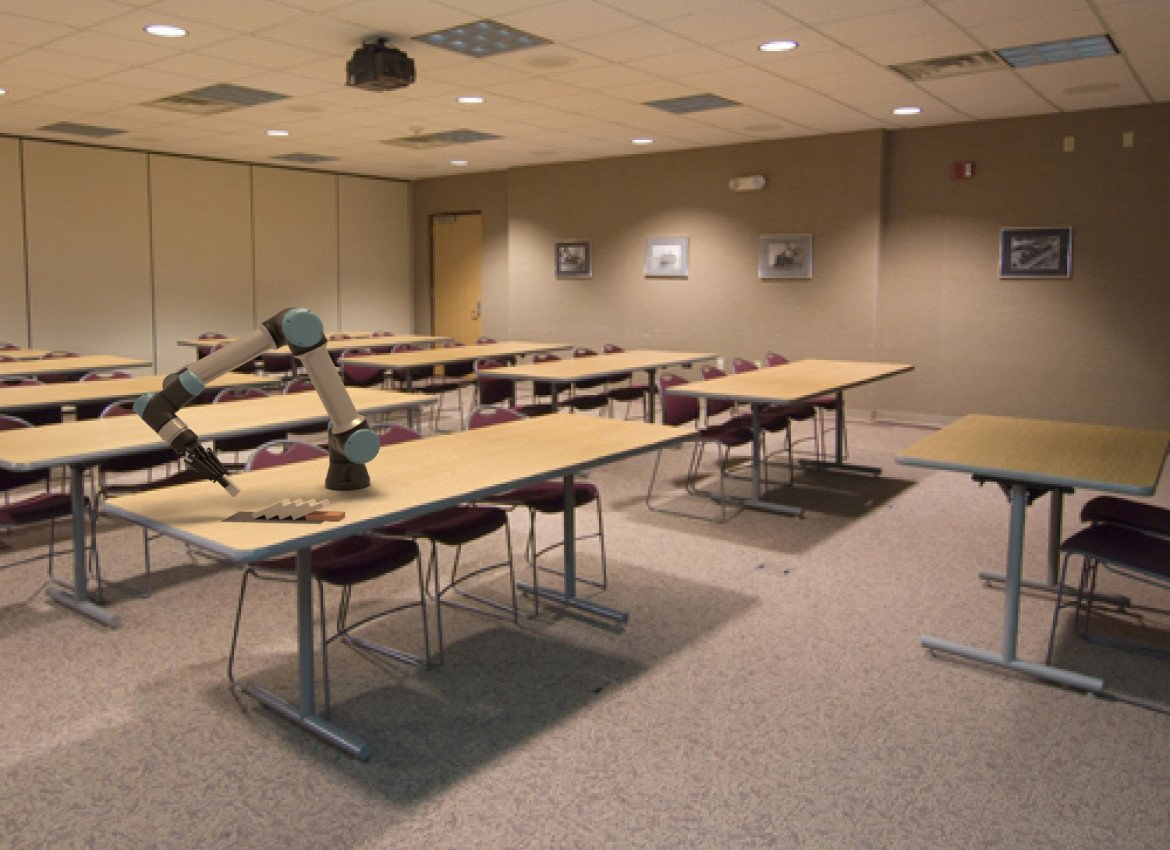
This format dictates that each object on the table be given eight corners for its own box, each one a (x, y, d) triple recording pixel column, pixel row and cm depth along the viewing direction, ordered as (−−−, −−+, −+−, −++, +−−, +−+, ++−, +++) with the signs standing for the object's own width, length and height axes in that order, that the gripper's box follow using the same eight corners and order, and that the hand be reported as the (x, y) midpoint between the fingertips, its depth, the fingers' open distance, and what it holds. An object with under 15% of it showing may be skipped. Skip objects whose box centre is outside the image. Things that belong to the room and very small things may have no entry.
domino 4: (291, 515, 263) (321, 502, 262) (298, 510, 268) (327, 498, 266) (293, 520, 263) (323, 507, 262) (300, 515, 268) (329, 503, 267)
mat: (220, 522, 262) (219, 521, 261) (239, 512, 273) (239, 511, 273) (320, 524, 259) (320, 523, 259) (335, 514, 271) (335, 513, 271)
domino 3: (277, 514, 263) (307, 502, 262) (285, 510, 268) (314, 498, 267) (280, 519, 263) (310, 507, 262) (287, 515, 268) (316, 503, 267)
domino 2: (264, 514, 264) (294, 501, 262) (271, 510, 269) (301, 497, 267) (266, 519, 264) (296, 506, 262) (274, 515, 269) (303, 502, 267)
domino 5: (305, 515, 263) (338, 515, 262) (312, 510, 267) (344, 511, 267) (305, 520, 263) (339, 521, 262) (312, 516, 268) (345, 516, 267)
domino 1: (251, 514, 264) (280, 501, 263) (259, 510, 269) (288, 497, 268) (253, 519, 264) (283, 506, 263) (261, 514, 269) (290, 502, 268)
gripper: (182, 441, 272) (239, 496, 273) (159, 449, 259) (218, 507, 260) (198, 424, 271) (255, 480, 272) (175, 431, 258) (235, 489, 259)
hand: (237, 493), depth 266 cm, fingers closed
